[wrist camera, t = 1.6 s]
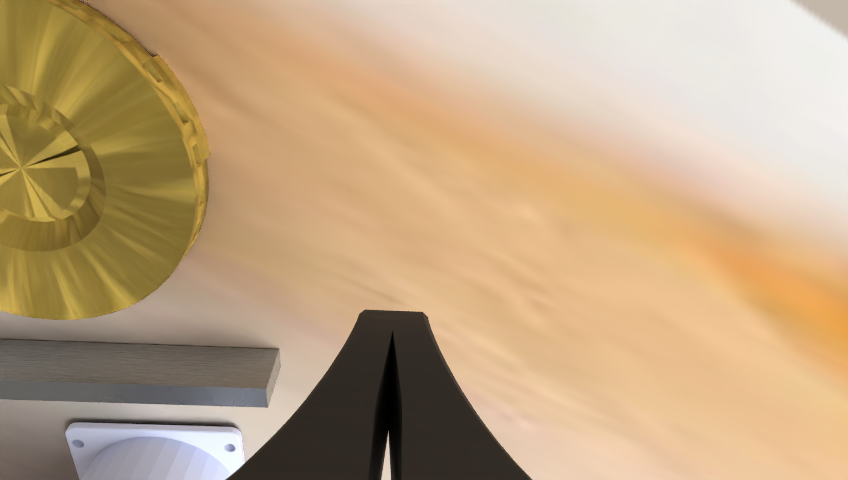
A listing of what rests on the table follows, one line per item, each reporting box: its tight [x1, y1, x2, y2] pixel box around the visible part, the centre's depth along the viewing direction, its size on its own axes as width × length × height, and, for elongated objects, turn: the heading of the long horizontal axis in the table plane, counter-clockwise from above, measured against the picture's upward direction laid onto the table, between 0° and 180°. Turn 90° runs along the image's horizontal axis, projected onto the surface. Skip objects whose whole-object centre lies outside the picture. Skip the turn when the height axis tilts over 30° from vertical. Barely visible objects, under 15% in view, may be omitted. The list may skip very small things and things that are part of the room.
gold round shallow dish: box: [0, 0, 210, 320], centre depth 20 cm, size 12×12×2 cm
